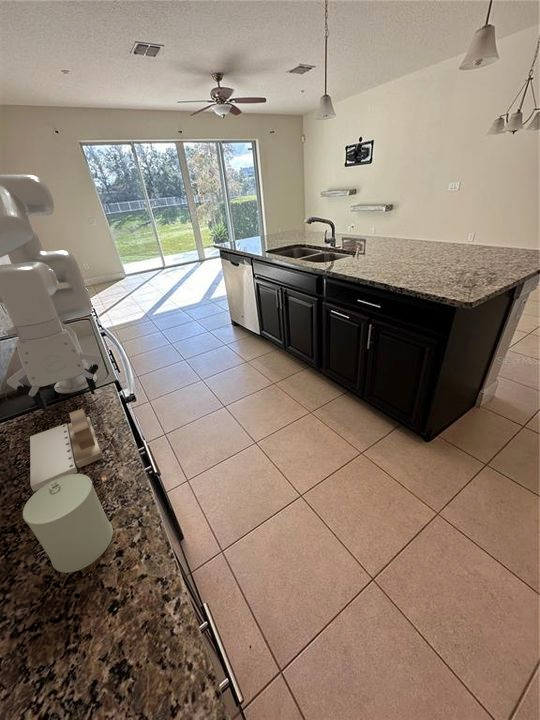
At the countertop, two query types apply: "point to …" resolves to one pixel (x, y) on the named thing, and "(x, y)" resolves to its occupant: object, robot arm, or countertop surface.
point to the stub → (83, 439)
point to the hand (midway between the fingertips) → (69, 400)
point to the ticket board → (51, 456)
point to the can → (69, 522)
